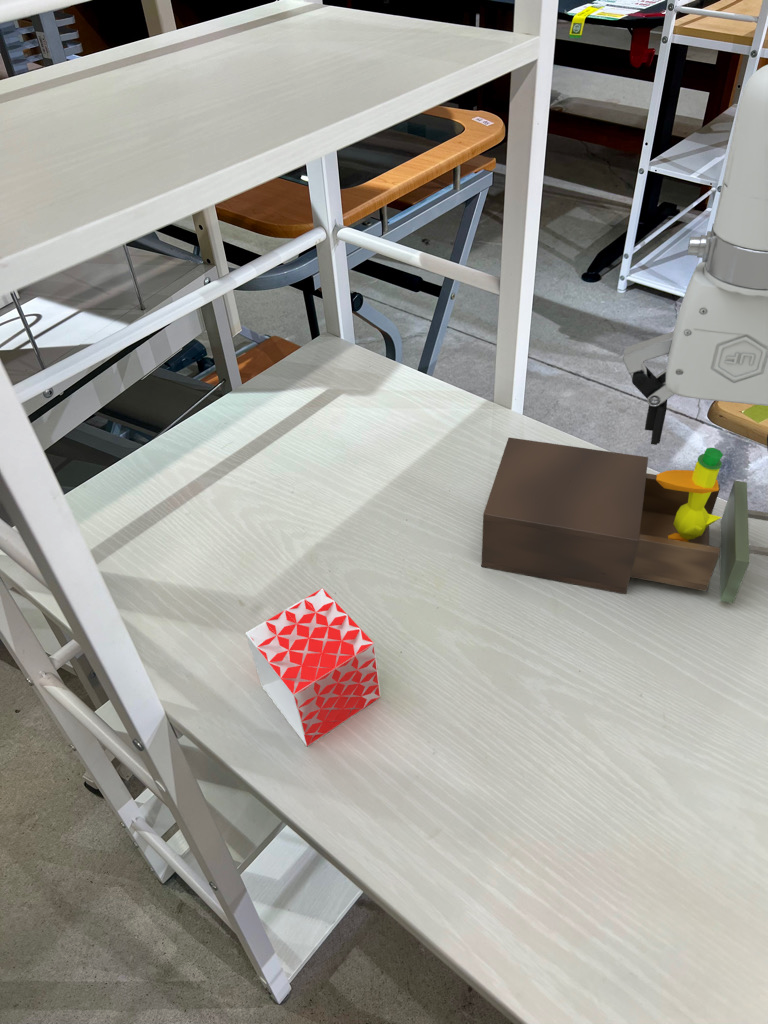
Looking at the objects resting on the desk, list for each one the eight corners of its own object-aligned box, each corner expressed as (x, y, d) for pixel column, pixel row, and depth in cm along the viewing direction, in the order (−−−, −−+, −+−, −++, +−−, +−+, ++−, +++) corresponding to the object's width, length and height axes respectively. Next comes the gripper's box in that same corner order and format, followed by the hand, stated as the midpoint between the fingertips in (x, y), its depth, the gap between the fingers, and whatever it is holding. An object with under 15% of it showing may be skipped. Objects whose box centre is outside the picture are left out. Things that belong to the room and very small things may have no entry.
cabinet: (636, 510, 82) (648, 456, 77) (625, 594, 74) (639, 540, 69) (505, 489, 86) (508, 437, 81) (481, 566, 78) (483, 513, 73)
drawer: (783, 531, 77) (800, 489, 74) (789, 614, 70) (809, 572, 66) (601, 502, 82) (608, 461, 78) (588, 576, 75) (596, 535, 71)
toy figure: (641, 551, 75) (664, 459, 67) (641, 527, 78) (663, 435, 69) (712, 560, 74) (745, 467, 66) (710, 535, 76) (741, 442, 68)
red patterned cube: (380, 697, 67) (374, 643, 62) (307, 747, 64) (293, 695, 58) (331, 641, 72) (321, 587, 66) (261, 685, 69) (244, 632, 63)
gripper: (635, 271, 55) (607, 455, 66) (904, 286, 50) (824, 482, 61) (642, 230, 60) (615, 408, 71) (887, 241, 55) (816, 429, 66)
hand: (712, 442), depth 66 cm, fingers open, 9 cm apart
